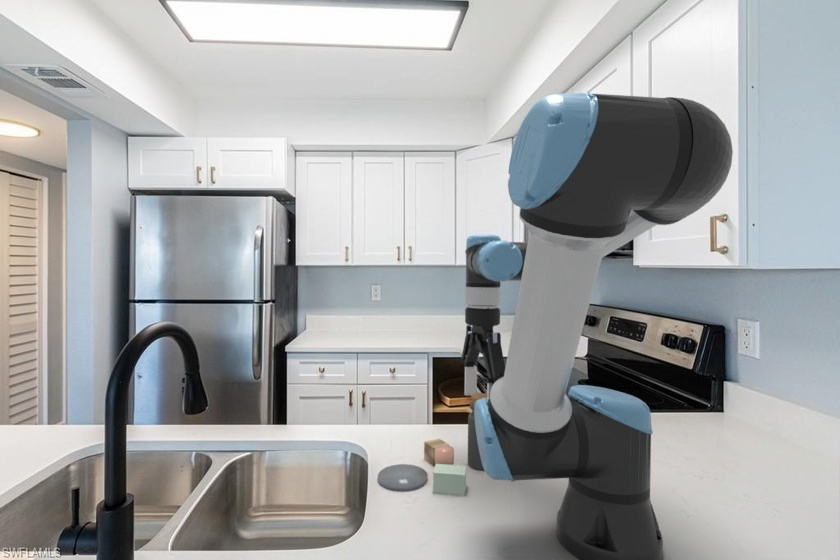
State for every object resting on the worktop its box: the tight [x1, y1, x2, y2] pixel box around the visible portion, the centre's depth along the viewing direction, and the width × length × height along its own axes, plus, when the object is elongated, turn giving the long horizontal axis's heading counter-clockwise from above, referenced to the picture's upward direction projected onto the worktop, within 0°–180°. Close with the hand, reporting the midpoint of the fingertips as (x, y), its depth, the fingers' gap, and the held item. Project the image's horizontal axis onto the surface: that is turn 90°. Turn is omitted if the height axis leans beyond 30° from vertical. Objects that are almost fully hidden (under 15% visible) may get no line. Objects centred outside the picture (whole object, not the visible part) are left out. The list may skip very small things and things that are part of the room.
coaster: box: [377, 463, 429, 492], centre depth 87 cm, size 10×10×1 cm
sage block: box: [432, 464, 467, 497], centre depth 83 cm, size 4×6×4 cm, turn 81°
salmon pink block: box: [435, 445, 455, 465], centre depth 90 cm, size 4×4×5 cm
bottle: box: [467, 392, 487, 471], centre depth 94 cm, size 6×6×15 cm
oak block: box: [423, 438, 450, 467], centre depth 96 cm, size 4×4×4 cm
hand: (481, 403), depth 95 cm, fingers open, 13 cm apart
